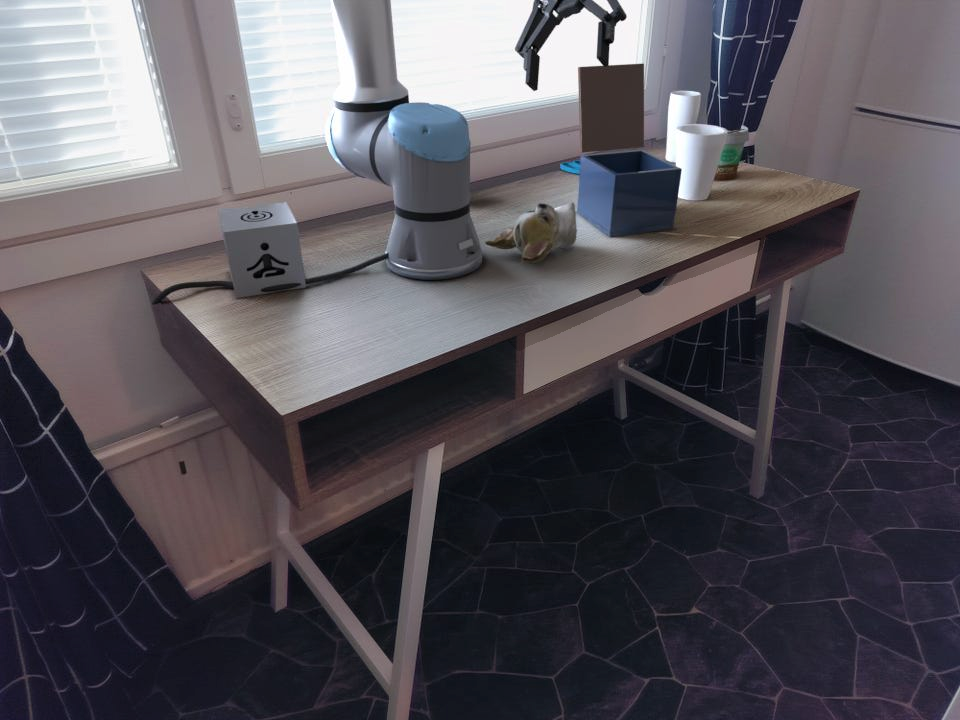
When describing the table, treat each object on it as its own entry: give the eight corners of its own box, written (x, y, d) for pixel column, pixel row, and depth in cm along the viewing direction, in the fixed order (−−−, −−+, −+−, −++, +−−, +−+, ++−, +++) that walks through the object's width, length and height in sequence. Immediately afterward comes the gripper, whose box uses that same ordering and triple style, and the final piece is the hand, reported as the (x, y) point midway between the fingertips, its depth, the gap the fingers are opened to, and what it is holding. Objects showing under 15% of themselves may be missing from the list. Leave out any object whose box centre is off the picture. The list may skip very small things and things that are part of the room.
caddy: (673, 229, 127) (682, 168, 121) (609, 237, 124) (615, 175, 118) (636, 205, 138) (642, 149, 133) (576, 212, 135) (580, 155, 129)
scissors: (580, 159, 163) (643, 181, 149) (580, 163, 164) (642, 185, 149) (557, 163, 160) (619, 186, 146) (557, 167, 161) (618, 191, 146)
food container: (706, 184, 150) (714, 136, 145) (689, 176, 155) (696, 129, 150) (754, 178, 154) (763, 130, 149) (735, 171, 159) (744, 124, 154)
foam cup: (721, 203, 139) (733, 135, 133) (673, 203, 139) (683, 135, 133) (709, 188, 147) (719, 124, 141) (664, 188, 148) (672, 123, 141)
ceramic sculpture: (596, 200, 113) (523, 225, 105) (595, 251, 117) (524, 279, 110) (552, 185, 120) (480, 207, 113) (552, 233, 125) (483, 258, 117)
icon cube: (229, 272, 111) (217, 210, 106) (294, 263, 114) (286, 202, 109) (236, 298, 103) (223, 232, 98) (306, 287, 106) (297, 222, 101)
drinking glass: (689, 157, 169) (698, 90, 161) (693, 165, 163) (704, 96, 155) (660, 156, 169) (668, 90, 162) (663, 164, 163) (672, 95, 156)
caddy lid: (644, 63, 127) (641, 63, 128) (579, 66, 124) (577, 67, 125) (644, 147, 132) (642, 147, 133) (582, 152, 129) (580, 152, 129)
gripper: (649, -50, 118) (645, 63, 114) (524, 4, 133) (516, 106, 129) (629, -82, 113) (624, 36, 108) (501, -21, 128) (492, 85, 123)
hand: (565, 74), depth 118 cm, fingers open, 13 cm apart
